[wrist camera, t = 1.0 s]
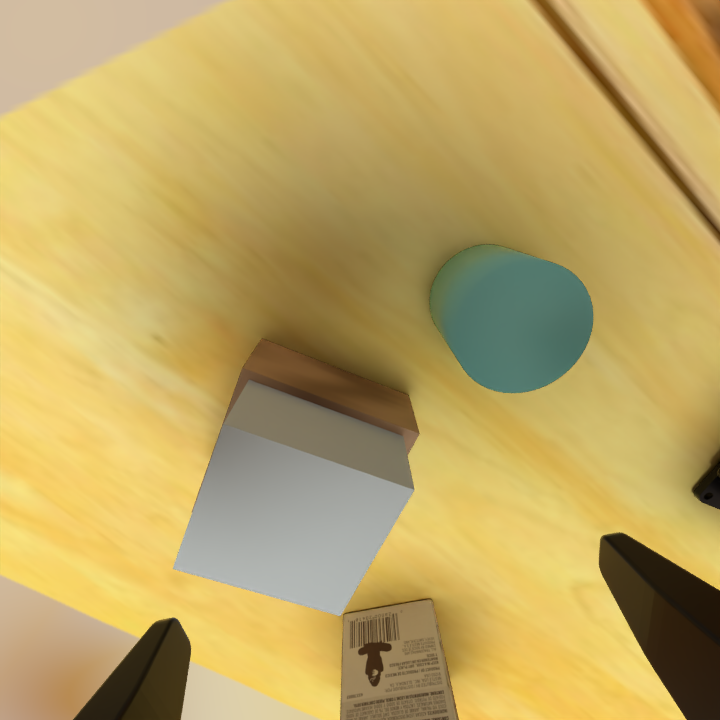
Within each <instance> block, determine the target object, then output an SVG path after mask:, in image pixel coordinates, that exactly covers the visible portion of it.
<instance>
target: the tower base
mask: <svg viewBox="0 0 720 720" xmlns="http://www.w3.org/2000/svg"><path fill="white" fill-rule="evenodd" d="M248 380H252V381H254V382H257V383H260V384H262V385H265V386H268V387H271V388H273V389H276V390H279V391H282V392H284V393H287V394H290V395H292V396H295V397H298V398H301V399H303V400H306V401H309V402H312V403H314V404H317V405H320V406H322V407H325V408H328V409H331V410H333V411H336V412H339V413H342V414H344V415H347V416H350V417H352V418H355V419H358V420H361V421H363V422H366V423H369V424H372V425H374V426H377V427H380V428H382V429H385V430H388V431H391V432H393V433H396V434H399V435H401V436H403V437H404V442H405V447H406V451H407V455H408V454H409V452H410V450H411V448H412V446H413V445H414V443H415V441H416V439H417V437H418V436H419V430H418V426H417V423H416V419H415V416H414V412H413V409H412V405H411V401H410V398H409V395H406V394H404V393H401V392H398V391H396V390H393V389H391V388H388V387H386V386H383V385H380V384H378V383H375V382H373V381H370V380H368V379H365V378H362V377H360V376H357V375H355V374H352V373H350V372H347V371H344V370H342V369H339V368H337V367H334V366H331V365H329V364H326V363H324V362H321V361H319V360H316V359H313V358H311V357H308V356H306V355H303V354H301V353H298V352H295V351H293V350H290V349H288V348H285V347H283V346H280V345H277V344H275V343H272V342H270V341H267V340H265V339H261V340H260V342H259V343H258V345H257V346H256V348H255V349H254V351H253V352H252V354H251V356H250V357H249V359H248V360H247V362H246V363H245V365H244V366H243V368H242V370H241V373H240V376H239V379H238V382H237V385H236V388H235V390H234V393H233V396H232V399H231V402H230V405H229V407H228V410H227V413H226V416H225V419H224V422H225V420H226V418H227V417H228V415H229V413H230V411H231V410H232V408H233V406H234V404H235V403H236V401H237V399H238V398H239V396H240V394H241V392H242V391H243V389H244V387H245V385H246V384H247V382H248ZM224 422H223V424H224ZM222 426H223V425H222ZM221 429H222V427H221ZM220 432H221V430H220ZM219 435H220V433H219ZM218 438H219V436H218ZM217 440H218V439H217ZM216 443H217V442H216ZM215 446H216V444H215ZM214 449H215V447H214ZM213 452H214V450H213ZM212 455H213V453H212ZM211 458H212V456H211ZM210 461H211V459H210ZM210 461H209V463H210ZM208 466H209V464H208ZM207 469H208V467H207ZM206 472H207V470H206ZM205 475H206V473H205ZM204 478H205V476H204ZM203 481H204V479H203ZM203 481H202V483H203ZM201 486H202V484H201ZM200 489H201V487H200ZM199 492H200V490H199ZM198 495H199V493H198ZM197 498H198V496H197ZM197 498H196V501H197ZM196 501H195V504H196ZM195 504H194V506H195ZM193 509H194V507H193ZM192 512H193V510H192Z"/></svg>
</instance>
